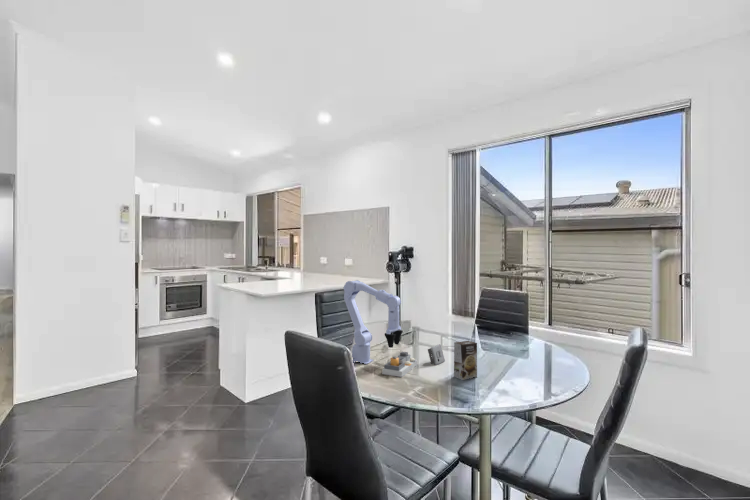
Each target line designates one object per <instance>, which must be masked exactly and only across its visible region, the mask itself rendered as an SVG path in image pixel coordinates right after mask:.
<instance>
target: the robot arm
mask: <svg viewBox="0 0 750 500" xmlns="http://www.w3.org/2000/svg"><path fill="white" fill-rule="evenodd" d="M342 289H343V291H344V292H343V295H344V296H343V300H344V302H345V305H346V308H347V311H348V314H349V317H350V319H351V322H352V324H353V328H354V331H353V336H354V343H355V344H353V345H352V349H351V358H352V357H353V362H352V363H355V362H356V361H358V362H360V363H359V364H362V363H364V365H368V364H369V363H372V362H373V361H374V359H372V358H371V342H372V340H373V334H372V333H371V332H370V330H369V329H368V327H367V326H366V325H365V324H364V321H363V318H362V315H361V312H360V310H359V308H358V305H357V302H356V296H357V295H358V293H360V292H365V293H367V294H369V295H371V296H374V298H375V299H376V300H377V301H378V302H381V303H383V304H385V305H386V306H387V307H388V309H387V311H388V321H387V322H388V327H387V329H386V332H385V333H384V337H385V338H386V342H387V345H388V348H390V349H391V348H394V345H398V346H399V344H400V340H401V336H402V334H403V332H404V330H402V327H401V325H400V306H401V304H402V300H401V298H400V297H399V296H398V295H394V294H393V293H389V292H387V291H386V290H385V289H379V290H378V289H376V288H374V287H372V286H370V285H368V284H367V283H365V282H363V281H360V280H358V279H356V280H348V281H346V282H345V283H344V286H343V288H342ZM354 361H355V362H354Z"/></svg>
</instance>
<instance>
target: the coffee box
mask: <svg viewBox="0 0 750 500" xmlns="http://www.w3.org/2000/svg"><path fill="white" fill-rule="evenodd" d="M453 377H455V378H457V379H459V380H462V381H464V380H469V378H470V379H474V378H473V377H476V378H477V377H478V343H477V342H475V341H472V340H471V341H470V340H464V341H454V342H453Z"/></svg>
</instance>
